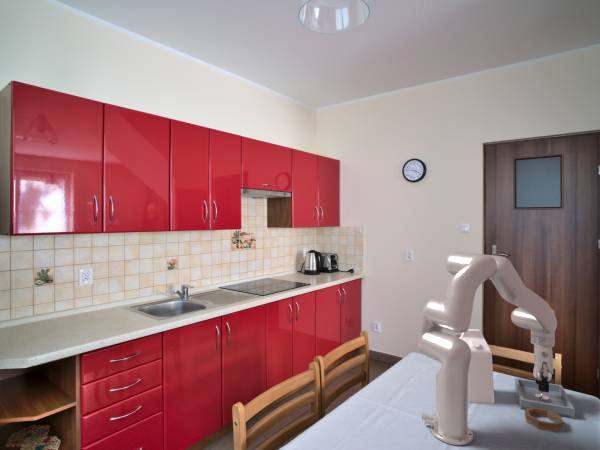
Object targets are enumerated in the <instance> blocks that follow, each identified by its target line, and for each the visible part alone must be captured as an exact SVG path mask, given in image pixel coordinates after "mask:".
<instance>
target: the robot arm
mask: <svg viewBox="0 0 600 450" xmlns="http://www.w3.org/2000/svg"><path fill="white" fill-rule="evenodd" d="M444 262H445V268H446V270H447V272H448V273H449V274H451V275H452V277H451V279H450V280H449V282H448V284H447V287H446V293H445V298H441V297H432V298H430V299H428V301H427V302H425V305H424V306H423V310H422V311H421V318H420V319H421V320H420V323H419V324H420V326H419V330H418V331H419V332H418V340H417V345H418V349H419V351H420V352H421V354H423V355H424V356H425V357H428V358H430V359H432V360H435V361H436V362H438V363H439V364H441V365H440V367H439V370H438V371H437V372H436V374H435V413H434V414H432V415H430V414H428V413H427V414H426V413H422V414H421V420H422V421H424V424H426V425H430V432H431V434H432V435H433V436H434V437H435V438H436V439H438V440H439V441H442V442H444V443H445V444H450V445H456V446H464V445H469V444H470V443H472V442H473V440H474V433H473V431H472V430H471V429H470V428H469V426H468V424H469V423H468V421H469V418H468V415H469V413H468V412H469V411H468V410H469V409H468V407H469V405H468V404H469V403H468V370H469V364H470V360H471V349H470V347H469V345H468V344H467V343H466V342H465V341H463V340H462V339H460V337H458V336H455V335H452V334H449V333H446V332H443V329H444V330H446V331H450V332H454V333H457V334H458V333H459V334H462V333H464V332H466V331H467V330H468V329H470V327H471V326H470V325H471V321H472V316H473V315H472V314H473V308H474V301H475V297H476V292H477V291H478V289H479V287H480V286H481V285H482V284H483V283H484V282H486V281H487V280H490V281H491V282H492V284H493V285H494V287H495V289H496V290H497V293H498V294H499V295H500V297H501V298H502V300H505V301H506V302H508V303H509V304H511V305H513V306H515V307H517V308H515V309H513V310H512V311H511V314H510V319H511V322H512V323H513V324H514V325H515V326H517V327H519V328H522V329H525V330H530V343H531V345H532V344H533V363H534V365H535V364H536V368H537V371H538V372H539V380H537V379H535V381H536V384H538V390H539V391H542V392H549V383H550V381H549V375H548V371H549V373H550V374H552V375H554V356H553V348H554V347H555V346H556V345H555V344H556V338H555V337H556V336H555V334H556V333H555V332H556V329H557V326H558V321H557V317H556V312H555V310H554V309H553V308H552V307H551V306H550V304H549V303H548V302H547V301H546V300H545V299H543V297H541V296H540V295H538V294H537V293H536V292H534V291H533V290H531V289H530V288H528V287H527V286H525V284H524V282H523V281H522V279H521V277H520V275H519V273H518V272H517V270H516V268H515V267H514V265H513V264H512V262H511V261H510V259H508V258H507V257H505V256H501V255H494V254H493V255H492V254H483V253H474V252H473V253H472V252H463V251H455V252H451V253H450V254H448V256H446V259H445V261H444ZM541 370H543V372H541ZM541 374H543V375H542V377H541Z"/></svg>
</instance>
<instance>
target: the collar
mask: <svg viewBox="0 0 600 450" xmlns="http://www.w3.org/2000/svg"><path fill="white" fill-rule="evenodd" d="M536 417H542V418H547V419H549V420H550V421H553V422H549V421H544V420H540V419H538V418H536ZM524 418H525V421H526V424H528V425H530V426H532V427H534V428H536V429H537V430H541V431H547V432H550V433H558V432H560V431H563V430H565V428H564V427H565V426H564V425H565V424H564V423H565V422H564V419H563V417H561V416H560V415H558V414H556V413H554V412H552V411H550V410H548V409H543V408H537V407H532V408H527V409H525V410H524Z"/></svg>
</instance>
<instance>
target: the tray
mask: <svg viewBox="0 0 600 450" xmlns="http://www.w3.org/2000/svg"><path fill="white" fill-rule="evenodd" d="M514 388H515V391H516V396H517V400H518V404H519V407H520V410H523V411H525V409H527V408H532V407H537V408H543V409H548V410H550V411H552V412H554V413H556V414H558V415H560V416H561V417H562V418H566V419H571V420H575V407H574V406H573V404H572V402H571V399H570V398H569V396H568V394H567V392H566V391H565V389H564V387H563V385H562V384H556V383H551V382H549V392H543V394H544V395H547V396H548V397H549V399H547V400H545V399H540V398H538V397H536V396H535V394H541V392H542V391H539V390H538V384H536V380H530V379H526V378H525V379H524V378H517V377H515V378H514Z"/></svg>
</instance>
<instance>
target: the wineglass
mask: <svg viewBox="0 0 600 450" xmlns="http://www.w3.org/2000/svg"><path fill="white" fill-rule="evenodd" d="M541 372H543V370H541ZM532 373H533V378H534V379H535V380H536V379H537V380H539V372H538V371H537V368H536V364H535V363H534V366H533V371H532ZM542 375H543V374H541V377H542ZM548 375H549V382H550V381H551V380H552V377H553V376H552V375H553V374H550V373H549V371H548ZM535 396H536V397H538V398H540V399H545V400H547V399H549V397H548V396H547V395H544V394H543V392H541V394H535Z"/></svg>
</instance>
